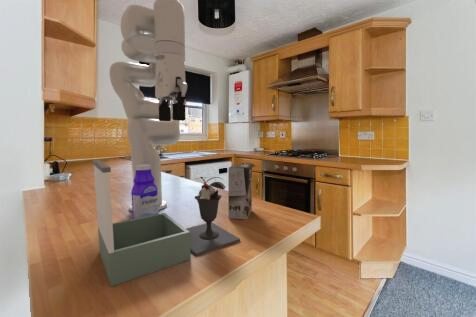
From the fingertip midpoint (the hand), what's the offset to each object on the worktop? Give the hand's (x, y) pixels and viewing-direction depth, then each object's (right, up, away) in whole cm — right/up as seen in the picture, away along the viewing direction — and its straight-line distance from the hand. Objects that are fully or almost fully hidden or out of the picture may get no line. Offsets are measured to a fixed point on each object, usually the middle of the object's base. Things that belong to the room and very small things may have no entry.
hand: (171, 120), depth 63 cm
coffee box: (+19, -29, +15) cm, 37 cm away
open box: (-3, -31, -12) cm, 33 cm away
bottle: (-10, -29, +7) cm, 32 cm away
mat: (+9, -30, -3) cm, 32 cm away
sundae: (+10, -30, -3) cm, 32 cm away
